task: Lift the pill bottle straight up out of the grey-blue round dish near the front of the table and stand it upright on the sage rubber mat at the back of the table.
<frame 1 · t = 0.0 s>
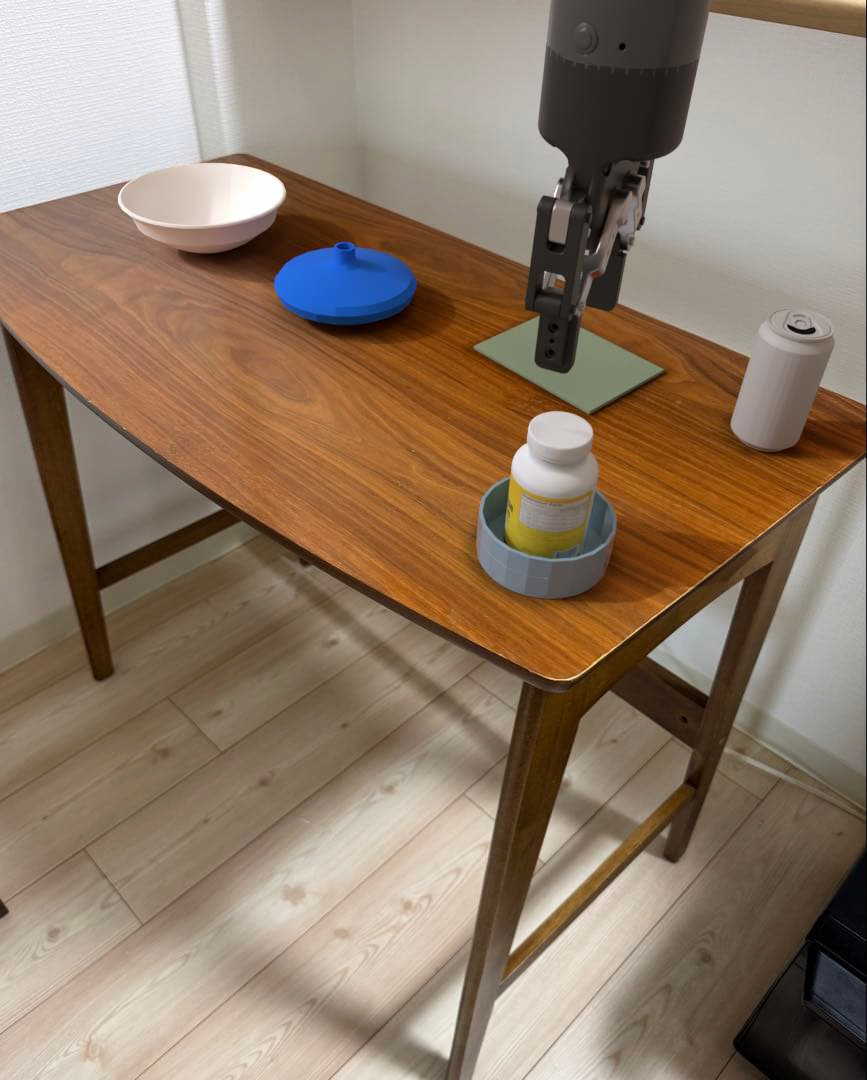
hand: (577, 335, 55), 22 cm above the table, tool pointing down, fingers open, 8 cm apart
bowl: (210, 244, 113), on the table
grey-blue round dish: (542, 551, 73), on the table
mat: (567, 360, 95), on the table
vase: (346, 307, 102), on the table
beverage can: (761, 437, 86), on the table
pill bottle: (542, 549, 72), resting on grey-blue round dish
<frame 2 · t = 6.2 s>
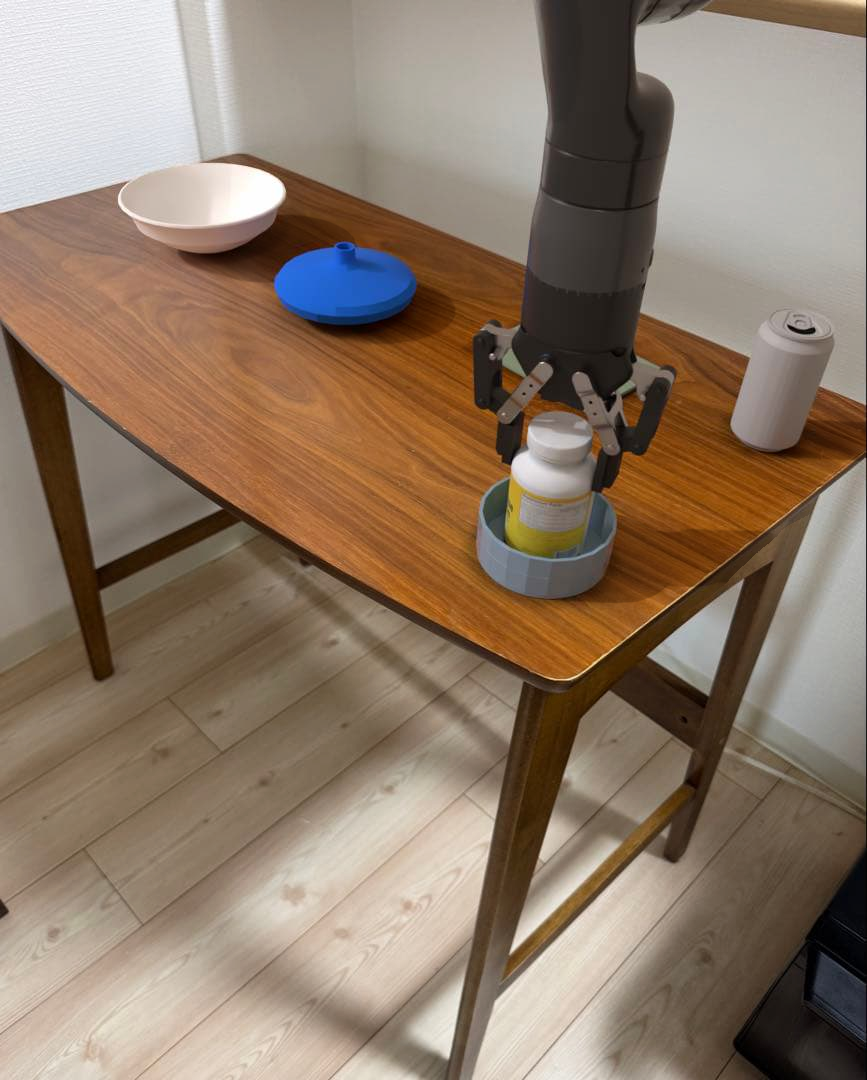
hand: (554, 472, 67), 8 cm above the table, tool pointing down, fingers closed on pill bottle, 6 cm apart
pill bottle: (542, 549, 72), resting on grey-blue round dish, touching gripper
everything else where it was.
when the fingers open (8 cm above the table, at t = 14.3 s): pill bottle stays where it is, resting on mat.
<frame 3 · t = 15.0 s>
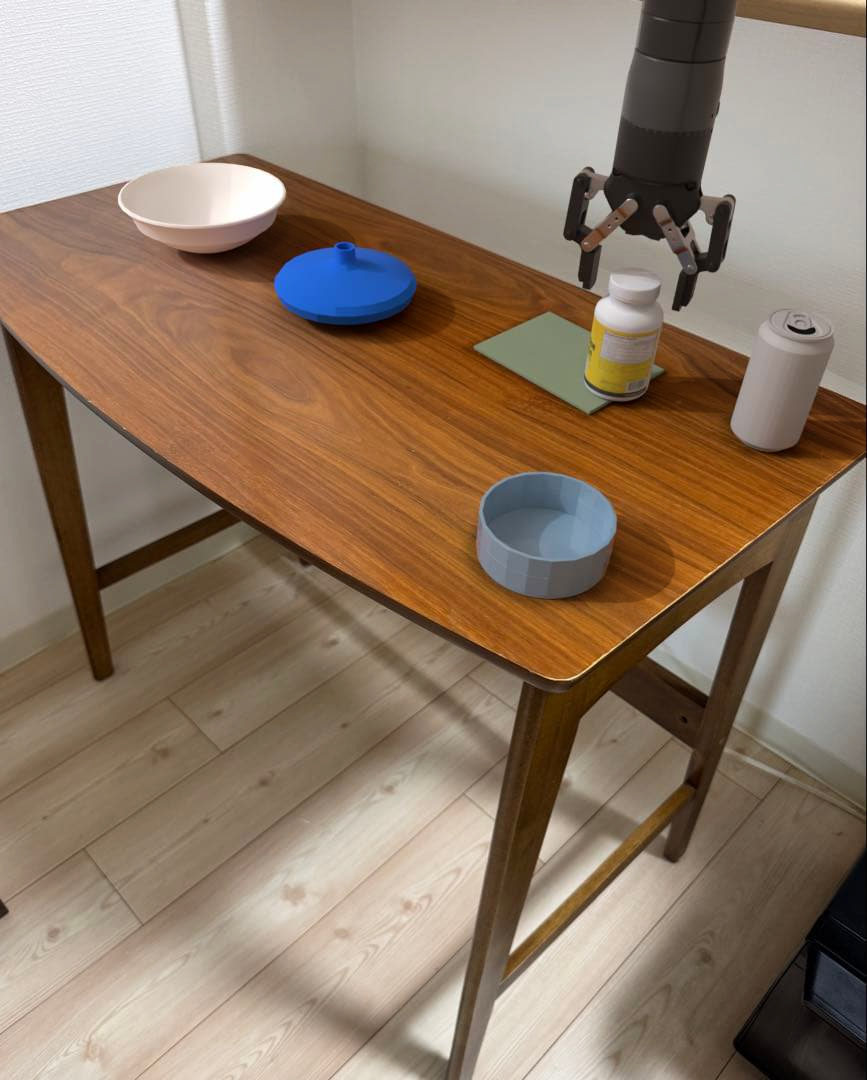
hand: (632, 296, 84), 10 cm above the table, tool pointing down, fingers open, 8 cm apart
pill bottle: (614, 388, 91), resting on mat
everything else where it was.
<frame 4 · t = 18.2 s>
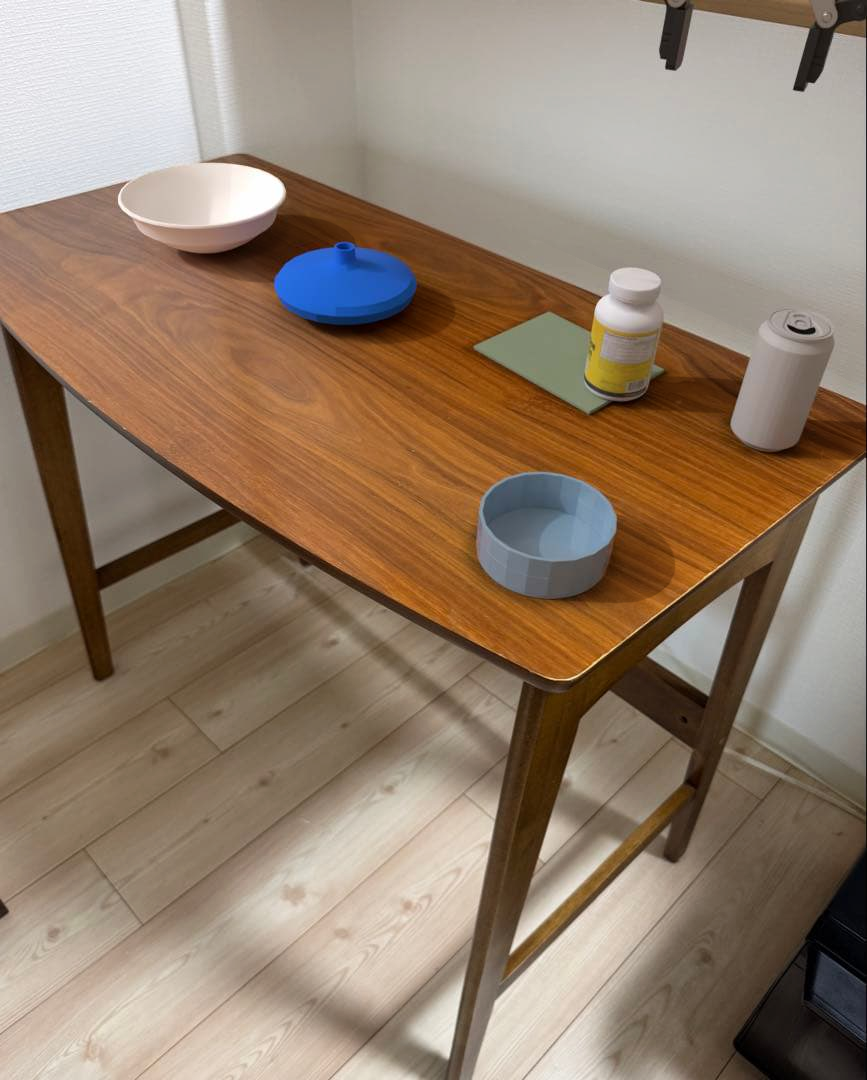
hand: (735, 78, 61), 32 cm above the table, tool pointing down, fingers open, 8 cm apart
nothing on the table moved.
at the end: pill bottle 0.1 cm from the target spot on the mat, point 0.2 cm above the mat's base; pill bottle tilted 0°; pill bottle touching mat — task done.
